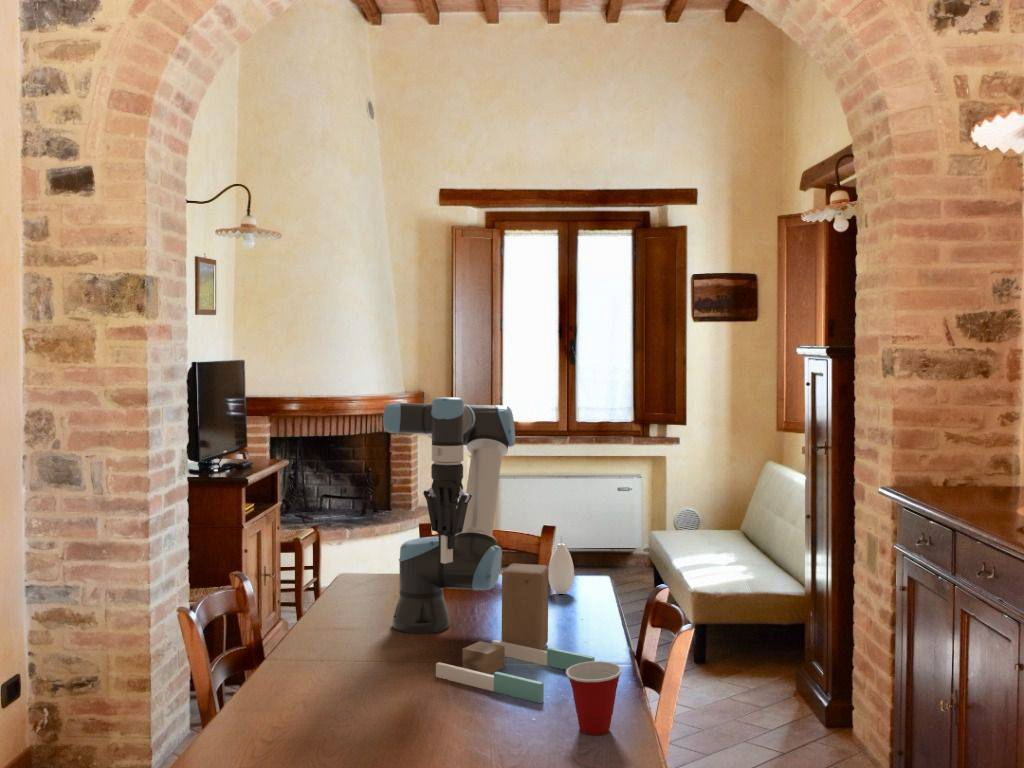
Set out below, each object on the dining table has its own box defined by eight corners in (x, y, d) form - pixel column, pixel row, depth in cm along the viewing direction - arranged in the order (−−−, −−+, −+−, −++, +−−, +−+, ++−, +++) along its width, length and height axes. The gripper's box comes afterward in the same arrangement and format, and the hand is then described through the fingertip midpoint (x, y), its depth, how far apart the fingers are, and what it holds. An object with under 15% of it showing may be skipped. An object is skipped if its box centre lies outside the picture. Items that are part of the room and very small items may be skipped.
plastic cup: (561, 719, 191) (562, 660, 190) (615, 718, 192) (616, 658, 191) (569, 741, 180) (570, 678, 180) (626, 740, 181) (627, 677, 181)
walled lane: (435, 676, 216) (435, 659, 216) (494, 651, 234) (494, 635, 234) (540, 703, 200) (540, 684, 200) (594, 674, 218) (594, 657, 218)
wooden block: (540, 655, 231) (541, 573, 231) (500, 652, 234) (501, 570, 233) (548, 643, 241) (549, 564, 241) (509, 640, 244) (510, 562, 243)
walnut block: (462, 670, 221) (462, 648, 221) (479, 662, 227) (479, 641, 227) (487, 675, 217) (487, 654, 217) (504, 667, 223) (504, 646, 223)
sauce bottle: (544, 592, 294) (545, 533, 294) (569, 590, 296) (569, 532, 295) (552, 598, 286) (552, 538, 286) (577, 596, 288) (577, 537, 288)
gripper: (415, 462, 228) (415, 561, 228) (459, 466, 220) (458, 568, 221) (436, 459, 234) (435, 556, 234) (479, 463, 226) (478, 563, 227)
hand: (446, 562), depth 228 cm, fingers closed
